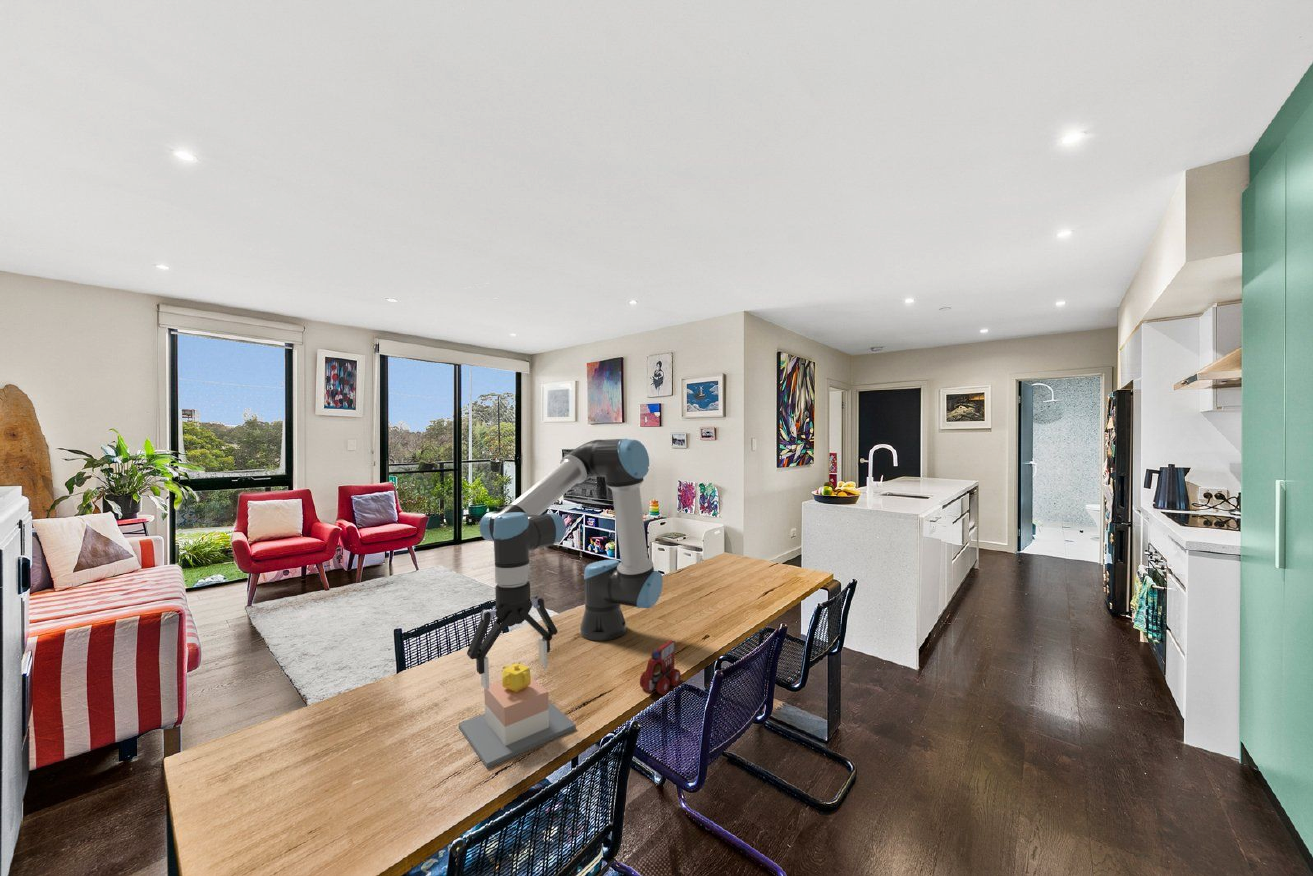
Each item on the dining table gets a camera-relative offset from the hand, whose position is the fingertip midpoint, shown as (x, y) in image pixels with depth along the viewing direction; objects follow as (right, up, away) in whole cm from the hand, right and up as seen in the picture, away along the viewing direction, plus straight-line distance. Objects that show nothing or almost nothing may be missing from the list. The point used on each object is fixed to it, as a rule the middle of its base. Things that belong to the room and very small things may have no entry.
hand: (515, 676), depth 111 cm
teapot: (0, -3, 0) cm, 3 cm away
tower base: (0, -12, 0) cm, 12 cm away
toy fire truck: (+33, -11, +17) cm, 39 cm away
